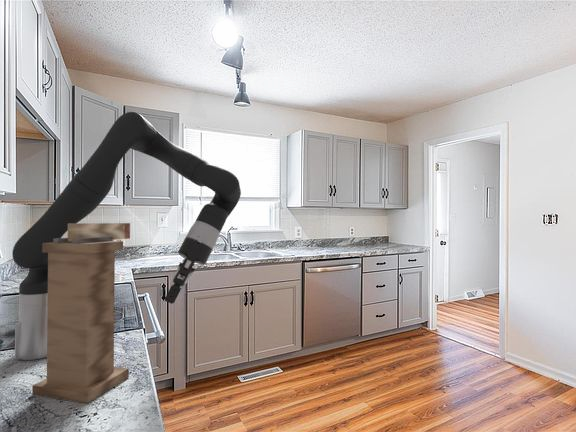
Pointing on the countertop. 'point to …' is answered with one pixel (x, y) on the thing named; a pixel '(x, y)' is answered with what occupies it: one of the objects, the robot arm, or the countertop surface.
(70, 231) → the maple bar
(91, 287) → the walnut stand
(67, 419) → the countertop surface
